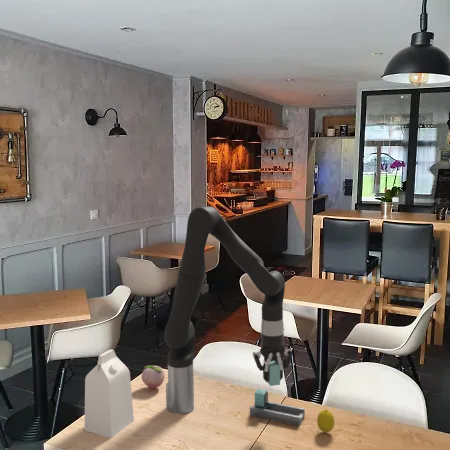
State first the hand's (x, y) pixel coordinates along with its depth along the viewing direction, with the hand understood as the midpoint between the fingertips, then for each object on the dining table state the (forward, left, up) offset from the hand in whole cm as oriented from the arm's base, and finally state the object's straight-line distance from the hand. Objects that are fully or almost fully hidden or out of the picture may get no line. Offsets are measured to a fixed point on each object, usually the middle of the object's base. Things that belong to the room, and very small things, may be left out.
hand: (272, 380), depth 164 cm
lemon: (+18, +1, -16) cm, 24 cm away
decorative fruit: (-52, +7, -16) cm, 55 cm away
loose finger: (0, 0, -1) cm, 1 cm away
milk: (-51, -23, -16) cm, 58 cm away
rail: (0, +5, -16) cm, 16 cm away
